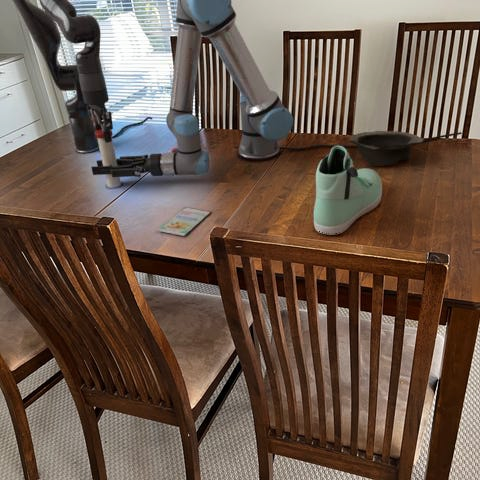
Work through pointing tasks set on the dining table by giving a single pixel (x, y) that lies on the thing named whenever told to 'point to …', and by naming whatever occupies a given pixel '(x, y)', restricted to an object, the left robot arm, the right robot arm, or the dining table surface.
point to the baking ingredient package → (183, 221)
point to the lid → (101, 133)
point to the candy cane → (174, 150)
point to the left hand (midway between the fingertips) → (104, 139)
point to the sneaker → (343, 192)
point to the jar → (109, 161)
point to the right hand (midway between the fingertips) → (95, 167)
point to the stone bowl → (384, 146)
